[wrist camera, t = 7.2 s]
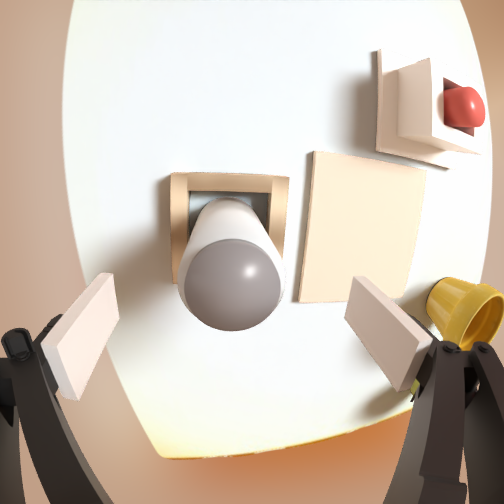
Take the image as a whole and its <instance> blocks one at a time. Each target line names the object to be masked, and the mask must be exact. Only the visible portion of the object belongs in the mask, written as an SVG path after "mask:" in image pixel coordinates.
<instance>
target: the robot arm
mask: <svg viewBox="0 0 504 504" xmlns="http://www.w3.org/2000/svg"><path fill="white" fill-rule="evenodd" d="M119 318H120V317H119V311H118V306H117V299H116V293H115V286H114V279H113V273H100V274H99V275H98V276H97V277H96V278H95V279H94V280H93V281H92V282H91V283H90V285H89V286H88V287H87V288H86V289H85V290H84V291H83V292H82V294H81V295H80V296H79V297H78V298H77V299H76V300H75V302H74V303H73V304H72V305H71V306H70V307H69V309H68V310H67V311H66V312H65V314H59V315H58V316H56V317H54V318H53V319H51V321H50V322H49V323H48V324H47V327H45V328H44V329H43V331H42V332H41V333H40V334H39V335H38V336H37V338H36V339H35V340H34V341H33V342H32V339H31V336H30V333H29V331H28V330H26V329H24V328H15V329H12V330H10V331H8V332H7V333H5V334H4V335H3V337H2V339H1V343H2V345H3V348H4V350H5V352H6V355H7V357H8V358H0V504H26V503H25V497H24V491H23V484H22V476H21V465H20V452H19V418H20V422H21V426H22V429H23V433H24V437H25V440H26V443H27V446H28V449H29V452H30V455H31V458H32V461H33V464H34V467H35V469H36V471H37V474H38V477H39V479H40V482H41V484H42V486H43V488H44V491H45V493H46V495H47V497H48V500H49V502H50V504H114V503H113V502H112V500H111V499H110V498H109V496H108V494H107V493H106V492H105V490H104V489H103V487H102V485H101V484H100V482H99V481H98V479H97V477H96V476H95V474H94V473H93V471H92V469H91V467H90V466H89V464H88V462H87V460H86V458H85V457H84V455H83V453H82V452H81V449H80V447H79V445H78V443H77V441H76V440H75V437H74V435H73V433H72V431H71V429H70V427H69V425H68V422H67V420H66V418H65V416H64V413H63V411H62V409H61V406H60V404H59V401H58V399H57V397H56V395H55V393H56V391H57V389H58V388H59V389H60V392H61V394H62V396H63V398H67V399H71V400H76V401H79V399H80V397H81V395H82V393H83V390H84V388H85V386H86V384H87V382H88V380H89V377H90V375H91V373H92V371H93V369H94V367H95V365H96V363H97V361H98V358H99V357H100V355H101V353H102V351H103V349H104V347H105V345H106V343H107V341H108V339H109V337H110V335H111V333H112V331H113V329H114V328H115V326H116V324H117V322H118V320H119ZM344 318H345V320H346V321H347V322H348V324H349V325H350V327H351V328H352V329H353V331H354V332H355V333H356V335H357V336H358V338H359V339H360V340H361V342H362V343H363V344H364V346H365V347H366V349H367V350H368V351H369V353H370V354H371V356H372V357H373V358H374V360H375V361H376V363H377V364H378V365H379V367H380V368H381V370H382V371H383V372H384V374H385V375H386V377H387V378H388V380H389V381H390V382H391V384H392V385H393V387H394V388H395V390H396V391H397V392H401V391H405V390H408V389H411V387H412V385H413V383H414V381H415V379H416V380H417V381H418V382H419V383H420V384H419V386H418V388H417V390H416V392H415V394H414V395H413V397H412V399H411V401H410V402H413V400H414V399H415V400H414V405H413V409H412V414H411V418H410V423H409V427H408V430H407V434H406V438H405V441H404V445H403V448H402V452H401V455H400V458H399V461H398V465H397V467H396V470H395V473H394V476H393V479H392V481H391V484H390V487H389V489H388V492H387V495H386V497H385V500H384V502H383V504H465V500H466V494H467V485H466V484H465V483H460V482H459V476H460V468H461V461H462V450H463V448H464V455H465V462H466V469H467V478H468V489H469V504H504V367H503V365H502V363H501V362H500V360H499V358H498V356H497V354H496V352H495V351H494V349H493V348H492V347H491V346H490V345H489V344H488V343H486V342H482V341H476V342H474V344H473V346H472V348H471V350H470V351H462V349H461V348H460V347H459V346H458V345H457V344H455V343H453V342H451V341H439V340H438V339H437V338H436V337H435V336H434V335H433V334H432V333H431V332H430V331H429V330H428V329H425V327H424V326H423V325H422V324H421V323H420V322H419V321H418V320H417V319H416V318H415V317H413V316H411V315H409V314H407V313H405V312H404V311H403V310H402V309H401V308H400V307H399V306H398V305H397V304H396V303H394V302H393V301H392V300H391V299H390V298H389V297H388V296H387V295H386V294H385V293H383V292H382V291H381V290H380V289H379V288H378V287H377V286H376V285H374V284H373V283H372V282H371V281H370V280H369V279H368V278H367V277H365V276H353V279H352V284H351V289H350V294H349V299H348V304H347V308H346V313H345V317H344ZM479 382H480V385H479V390H477V386H478V384H479Z"/></svg>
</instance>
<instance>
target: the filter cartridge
mask: <svg viewBox="0 0 504 504" xmlns="http://www.w3.org/2000/svg"><path fill="white" fill-rule="evenodd" d="M177 284H178V290H179V294H180V297H181V299H182V301H183V303H184V304H185V306H186V307H187V308H188V310H189V311H190V312H191V313H192V314H193V315H194V316H195V317H197V318H198V319H199V320H200V321H202V322H203V323H204V324H206V325H208V326H210V327H212V328H215V329H218V330H223V331H240V330H245V329H249V328H251V327H254V326H256V325H258V324H259V323H261V322H262V321H264V320H265V319H266V318H267V317H268V316H269V315H270V314H271V313H272V312H273V310H274V309H275V308H276V307H277V305H278V304H279V302H280V301H281V298H282V296H283V294H284V290H285V286H286V271H285V266H284V263H283V261H282V258H281V256H280V255H279V253H278V251H277V249H276V248H275V246H274V244H273V243H272V241H271V239H270V237H269V236H268V234H267V232H266V231H265V229H264V227H263V226H262V224H261V222H260V220H259V219H258V217H257V215H256V214H255V212H254V210H253V209H252V208H251V207H250V205H248V204H247V203H246V202H245V201H243V200H241V199H239V198H235V197H220V198H217V199H214V200H212V201H211V202H209V203H208V204H207V205H206V206H205V207H204V208H203V209H202V211H201V212H200V214H199V217H198V219H197V221H196V224H195V226H194V229H193V231H192V234H191V236H190V239H189V241H188V244H187V247H186V249H185V252H184V254H183V257H182V259H181V262H180V265H179V269H178V274H177Z"/></svg>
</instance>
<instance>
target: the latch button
mask: <svg viewBox="0 0 504 504" xmlns="http://www.w3.org/2000/svg"><path fill="white" fill-rule="evenodd" d="M443 98H444V125H446V126H449V127H480V126H482V124H483V123H484V120H485V107H484V103H483V101H482V98H481V96H480V95H479V93H478V92H477V91H476V90H475V89H474V88H472V87H470V86H466V87H459V88H452V89H446V90H443Z"/></svg>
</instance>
